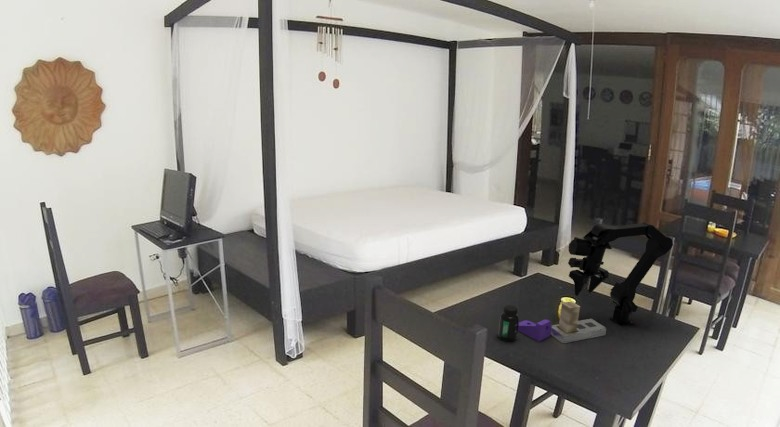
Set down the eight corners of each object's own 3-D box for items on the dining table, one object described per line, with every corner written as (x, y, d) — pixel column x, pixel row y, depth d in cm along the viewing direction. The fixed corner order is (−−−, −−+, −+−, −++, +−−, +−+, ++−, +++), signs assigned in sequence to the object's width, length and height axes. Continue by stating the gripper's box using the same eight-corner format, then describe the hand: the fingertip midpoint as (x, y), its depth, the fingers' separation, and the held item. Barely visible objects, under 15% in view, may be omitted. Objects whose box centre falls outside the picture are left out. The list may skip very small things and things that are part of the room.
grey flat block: (590, 325, 194) (591, 318, 193) (605, 335, 187) (606, 327, 186) (548, 333, 187) (549, 325, 186) (562, 343, 180) (563, 335, 179)
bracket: (550, 336, 185) (552, 320, 183) (539, 342, 181) (541, 325, 179) (523, 324, 194) (525, 308, 192) (512, 328, 190) (514, 312, 188)
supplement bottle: (505, 343, 179) (508, 313, 176) (494, 334, 185) (497, 305, 182) (520, 340, 182) (524, 310, 178) (509, 331, 188) (512, 302, 184)
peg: (567, 332, 188) (571, 301, 185) (575, 338, 184) (580, 306, 181) (557, 334, 187) (561, 302, 183) (565, 340, 183) (570, 308, 179)
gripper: (589, 247, 201) (579, 282, 205) (562, 251, 190) (551, 287, 194) (614, 258, 192) (603, 294, 197) (587, 262, 181) (576, 300, 186)
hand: (583, 293), depth 194 cm, fingers open, 9 cm apart
